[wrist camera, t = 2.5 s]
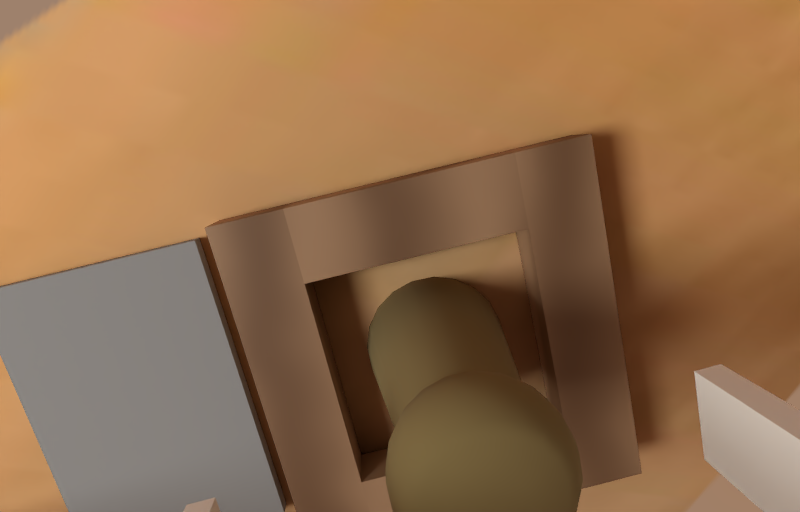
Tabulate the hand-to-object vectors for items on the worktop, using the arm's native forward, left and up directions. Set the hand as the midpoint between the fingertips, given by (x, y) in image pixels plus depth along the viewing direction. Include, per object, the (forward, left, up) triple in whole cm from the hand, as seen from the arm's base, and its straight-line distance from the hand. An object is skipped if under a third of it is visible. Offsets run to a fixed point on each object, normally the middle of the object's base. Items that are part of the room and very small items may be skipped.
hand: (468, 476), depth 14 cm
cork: (0, 0, -10) cm, 10 cm away
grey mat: (+13, 0, -10) cm, 16 cm away
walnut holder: (0, 0, -10) cm, 10 cm away
